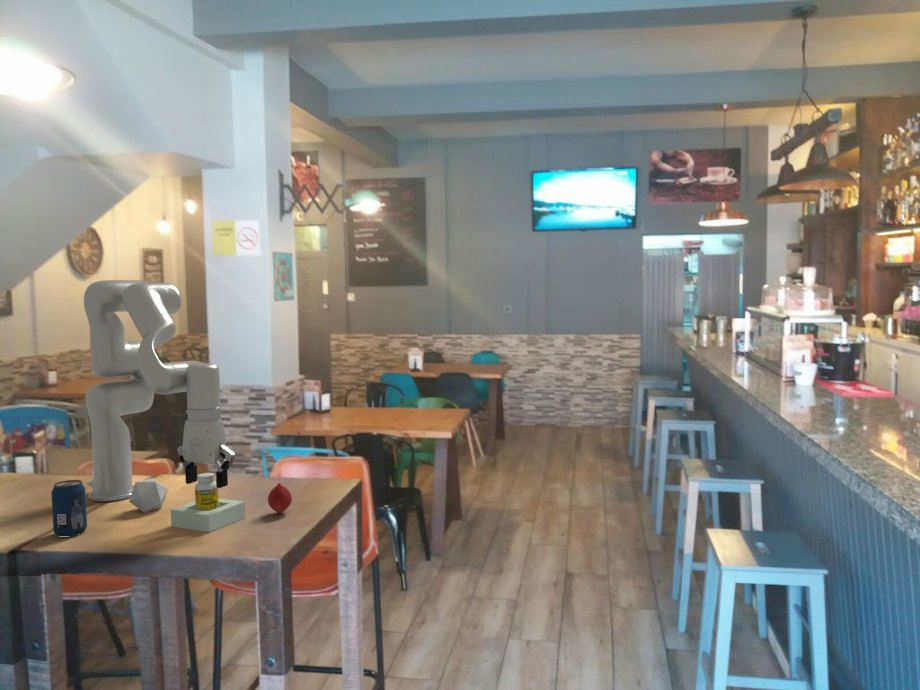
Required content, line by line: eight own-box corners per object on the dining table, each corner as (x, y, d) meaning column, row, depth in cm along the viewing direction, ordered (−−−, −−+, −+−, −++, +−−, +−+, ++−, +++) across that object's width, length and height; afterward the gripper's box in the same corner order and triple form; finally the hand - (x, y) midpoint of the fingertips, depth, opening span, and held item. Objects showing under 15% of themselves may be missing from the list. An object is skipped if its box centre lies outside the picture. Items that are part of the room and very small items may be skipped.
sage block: (171, 526, 174) (170, 509, 174) (208, 512, 185) (207, 496, 185) (209, 532, 169) (209, 515, 169) (245, 517, 180) (244, 501, 180)
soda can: (64, 528, 173) (61, 479, 173) (93, 528, 173) (90, 479, 172) (47, 538, 166) (44, 487, 166) (77, 538, 166) (74, 486, 165)
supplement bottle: (215, 509, 181) (214, 470, 180) (221, 514, 176) (220, 475, 176) (193, 512, 178) (191, 474, 177) (199, 518, 173) (197, 478, 173)
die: (168, 514, 186) (176, 479, 191) (138, 504, 180) (147, 468, 185) (149, 521, 190) (158, 486, 195) (119, 511, 184) (129, 476, 190)
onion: (263, 513, 183) (262, 482, 182) (283, 508, 187) (282, 478, 186) (276, 518, 179) (275, 486, 178) (296, 513, 183) (295, 481, 182)
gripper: (165, 415, 175) (168, 484, 177) (220, 419, 168) (223, 492, 169) (189, 410, 182) (191, 477, 183) (243, 414, 175) (245, 484, 176)
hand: (206, 484), depth 176 cm, fingers open, 9 cm apart
